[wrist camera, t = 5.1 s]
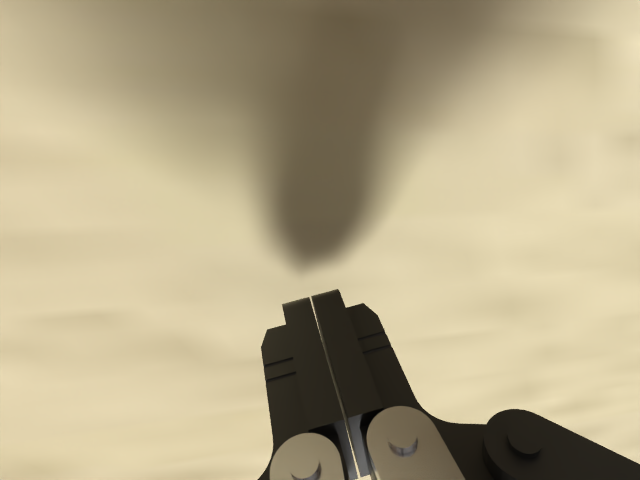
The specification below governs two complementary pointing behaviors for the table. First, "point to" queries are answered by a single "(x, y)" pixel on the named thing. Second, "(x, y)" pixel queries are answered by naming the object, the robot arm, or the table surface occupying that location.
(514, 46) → the table surface
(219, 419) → the table surface
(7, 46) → the table surface
